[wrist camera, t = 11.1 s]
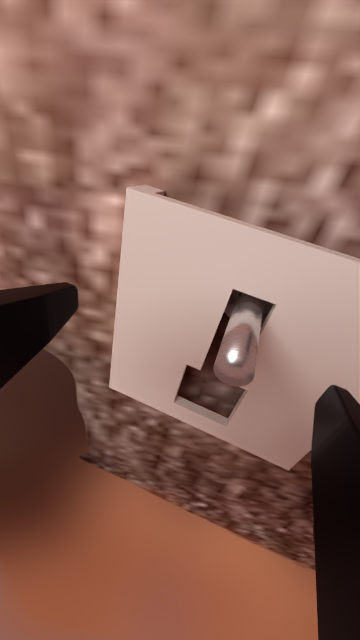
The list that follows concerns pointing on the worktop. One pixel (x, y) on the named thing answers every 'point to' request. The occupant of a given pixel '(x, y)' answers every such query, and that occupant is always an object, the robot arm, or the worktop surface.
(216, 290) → the keyhole board
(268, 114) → the worktop surface
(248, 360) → the steel peg
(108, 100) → the worktop surface
